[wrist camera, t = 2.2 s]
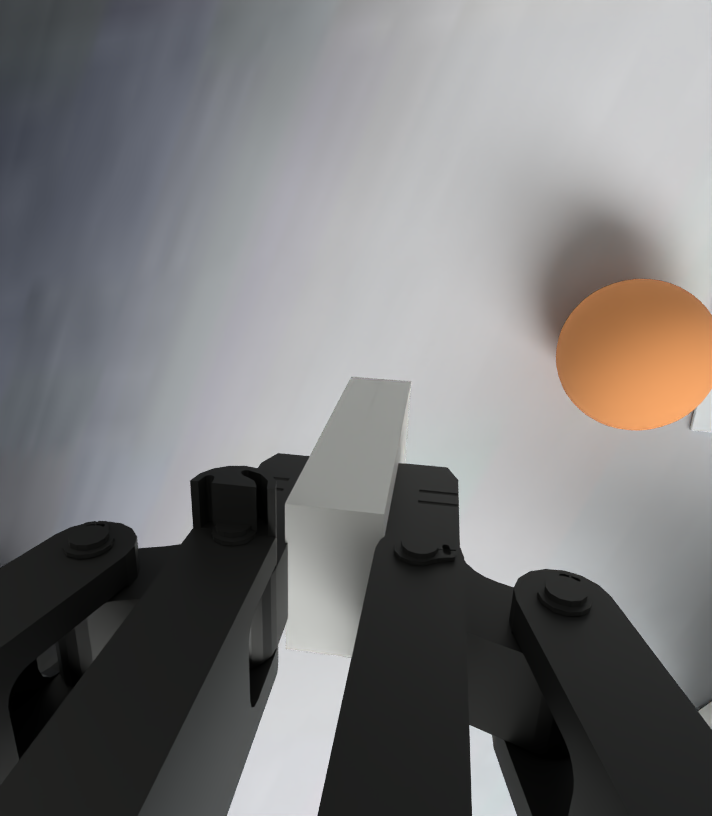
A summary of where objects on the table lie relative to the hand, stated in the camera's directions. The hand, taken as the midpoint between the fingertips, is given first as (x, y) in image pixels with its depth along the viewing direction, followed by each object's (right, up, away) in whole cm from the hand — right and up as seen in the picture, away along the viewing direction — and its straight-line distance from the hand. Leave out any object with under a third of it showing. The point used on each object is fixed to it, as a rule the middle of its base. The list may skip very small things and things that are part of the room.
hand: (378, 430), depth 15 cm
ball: (+11, +3, +9) cm, 14 cm away
